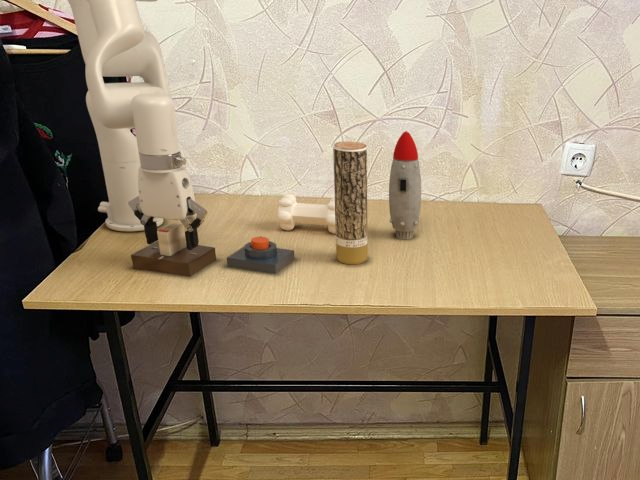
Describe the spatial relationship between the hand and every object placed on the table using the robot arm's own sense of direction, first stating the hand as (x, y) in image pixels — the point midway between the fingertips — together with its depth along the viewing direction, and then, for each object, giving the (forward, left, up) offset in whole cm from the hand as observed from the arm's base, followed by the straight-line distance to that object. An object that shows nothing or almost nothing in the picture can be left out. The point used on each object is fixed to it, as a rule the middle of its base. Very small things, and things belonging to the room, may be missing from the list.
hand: (172, 244), depth 148 cm
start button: (+16, +7, -1) cm, 17 cm away
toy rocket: (+39, +35, -5) cm, 53 cm away
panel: (0, 0, -4) cm, 4 cm away
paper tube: (+33, +16, -5) cm, 37 cm away
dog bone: (+17, +31, -5) cm, 36 cm away
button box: (+16, +7, -4) cm, 18 cm away
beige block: (0, 0, -1) cm, 1 cm away
